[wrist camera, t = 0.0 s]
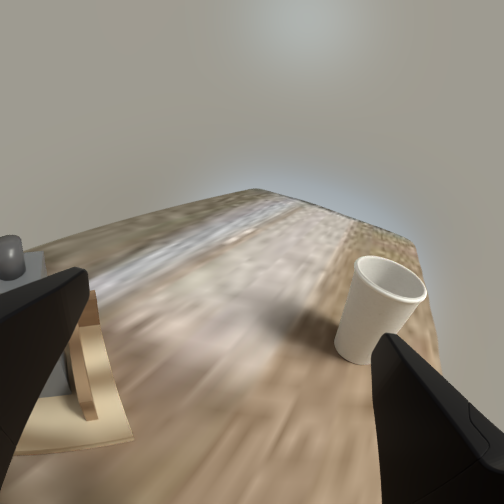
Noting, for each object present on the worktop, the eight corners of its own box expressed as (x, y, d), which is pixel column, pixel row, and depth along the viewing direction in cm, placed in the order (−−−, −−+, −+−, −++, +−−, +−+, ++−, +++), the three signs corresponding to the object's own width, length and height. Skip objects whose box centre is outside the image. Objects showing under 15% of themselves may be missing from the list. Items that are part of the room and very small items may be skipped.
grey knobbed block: (71, 394, 19) (34, 258, 13) (23, 399, 17) (-32, 265, 11) (65, 354, 22) (40, 224, 17) (22, 359, 20) (-16, 230, 14)
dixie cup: (399, 365, 31) (441, 296, 26) (345, 380, 28) (388, 303, 23) (364, 321, 38) (394, 255, 33) (311, 327, 35) (340, 253, 30)
